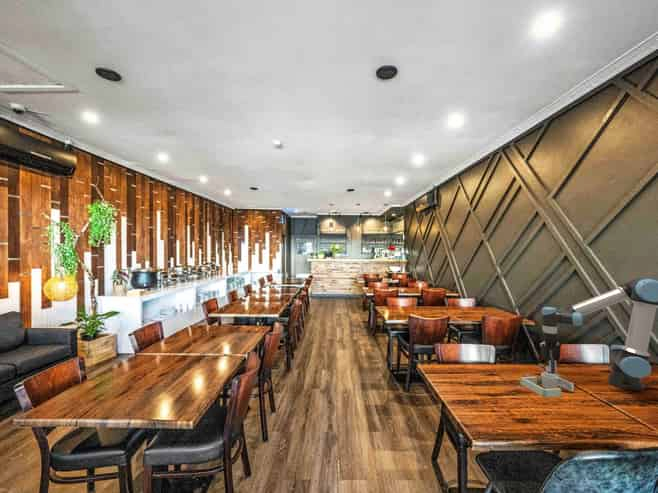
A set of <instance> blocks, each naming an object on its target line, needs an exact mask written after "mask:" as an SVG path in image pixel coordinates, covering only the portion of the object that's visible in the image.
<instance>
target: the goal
mask: <svg viewBox="0 0 658 493" xmlns="http://www.w3.org/2000/svg"><path fill="white" fill-rule="evenodd" d="M537 377H538V376H528V377H523V376H521V377H519V378H520V379H519V380H520V385H521V386H523V387H525V388H527V389H528V390H530V391H533V393H536V394H537V395H539V396H541V397H543V398H544V399H546V398H547V399H548V398H559V397H562V389H561V387H559V388H558V387H557V388H555V389H545V388H544V387H541V386H540V385H538V383H537Z"/></svg>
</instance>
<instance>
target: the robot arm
mask: <svg viewBox="0 0 658 493" xmlns="http://www.w3.org/2000/svg"><path fill="white" fill-rule="evenodd" d="M624 301H629V302H631V303H632V304H633V306H632V310H631V316H630V320H629V326H628V330H627V335H626V339H625V342H624V343H625V344H624V345H623V344H611V345H610V349H609V351H610V366H611V367H610V368H611V369H610V371H609V375H608V377H607V382H608V383H609V384H610V385H611V386H614V387H616V388H620V389H623V390H624V389H625V390H629V391H645V384H644V383H643V382H642V378H646V377H648V376H649V375H650V374H651V373H652V367H651V364H650V359H651V354H650V353H649V352H648V348H649V344H650V340H651V336H652V335H651V334H652V329H653V326H654V325H653V324H654V320H655V317H656V313H657V312H656V311H657V309H658V280H656V279H652V278H644V277H637V278H635V279H631V280H629V281H627V282H624V283H622V284H619V285H617V287H616V288H615V289H611V290H609V291H606V292H604V293H601V294H599V295H596V296H594V297H593V296H592V297H591V298H589V299H586V300H583V301H581V302H578V303H575V304H573V305H570V306H568V307H561V308H560V309H559V310H558V309H557V308H556V307H551V306H544V307H542V308H541V320H542V322H541V324H542V326H541V328H542V338H543V342H539V344H538V345H539V346H540V355H541V359H543V360H544V364H545V371H549V372H551V361H550V360H549V358H550V355H553V356H554V369H555V372H557V366H558V362H559V361H560V359H561V347H562V343H561V342H559V341H558V324H559V325H569V326H582V325H583V316H586V315H588V314H591V313H594V312H596V311H598V310H602V309H604V308H607V307H611V306H614V305H616V304H619V303H621V302H624Z"/></svg>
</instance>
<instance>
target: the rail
mask: <svg viewBox="0 0 658 493" xmlns="http://www.w3.org/2000/svg"><path fill="white" fill-rule="evenodd" d="M522 377H529V376H528V375H525V374H522ZM536 377H537V384H540V383H542V378H541V376H536ZM561 378H562V379H564V376H563V375H561Z"/></svg>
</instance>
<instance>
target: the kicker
mask: <svg viewBox="0 0 658 493" xmlns="http://www.w3.org/2000/svg"><path fill="white" fill-rule="evenodd" d="M549 360H550V361H551V372H549V371H547V370H544V371H543V370H542V371H541V373H551V374H554V375H556V376H558V377H559V378H561V376H562V375H561V374H558V373H557V372H556V371H555V369H554V356H553V355H552V354H550V358H549ZM561 379H562V378H561ZM562 381H563V383H562V385H561V386H560V388H563V389H564V390H567V391H569V392H574V391H575V389H574V388H575V386H574V382H571V381H569V380H567V379H564V378H563V379H562ZM558 384H560V379H559V380H558Z"/></svg>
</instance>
